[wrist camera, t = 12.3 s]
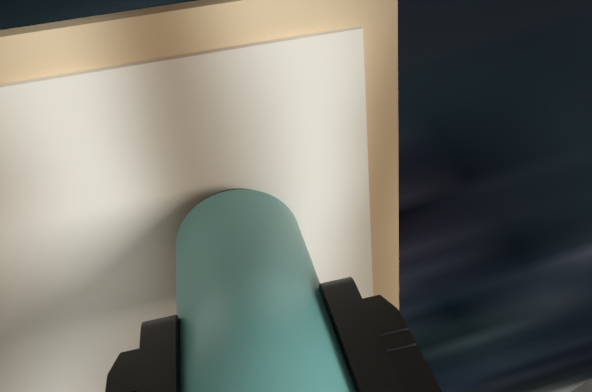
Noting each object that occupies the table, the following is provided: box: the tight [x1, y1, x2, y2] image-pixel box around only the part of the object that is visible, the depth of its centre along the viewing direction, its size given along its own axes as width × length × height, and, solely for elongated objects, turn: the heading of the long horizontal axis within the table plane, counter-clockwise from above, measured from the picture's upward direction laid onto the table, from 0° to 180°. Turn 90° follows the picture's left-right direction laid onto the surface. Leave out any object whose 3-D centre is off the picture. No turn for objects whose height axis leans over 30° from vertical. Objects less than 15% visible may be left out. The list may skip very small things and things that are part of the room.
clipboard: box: [0, 0, 399, 392], centre depth 17 cm, size 14×20×2 cm
